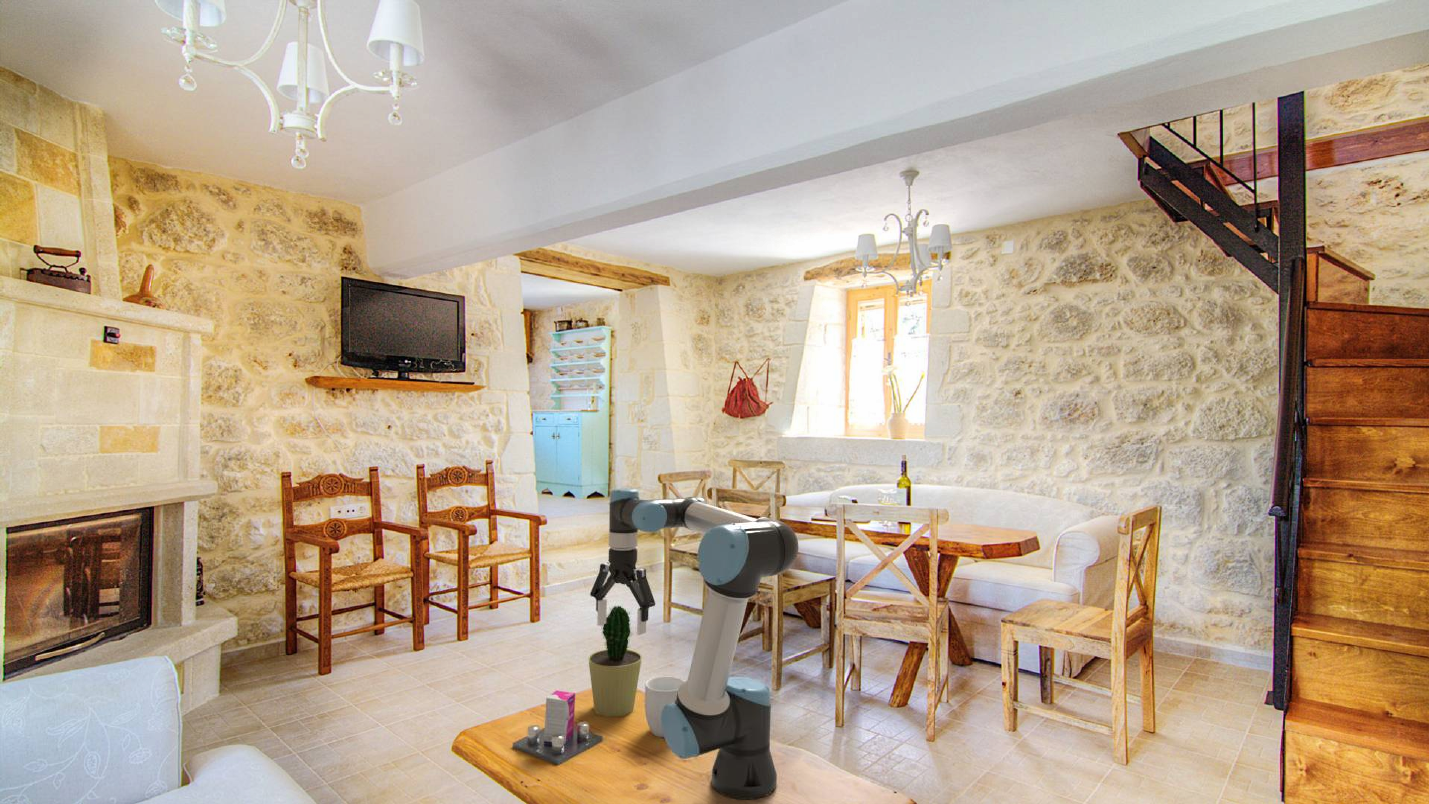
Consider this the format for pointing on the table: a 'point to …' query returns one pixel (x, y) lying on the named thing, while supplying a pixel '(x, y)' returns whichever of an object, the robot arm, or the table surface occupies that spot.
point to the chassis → (557, 743)
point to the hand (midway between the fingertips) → (621, 629)
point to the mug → (659, 700)
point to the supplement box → (559, 716)
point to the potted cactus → (615, 668)
